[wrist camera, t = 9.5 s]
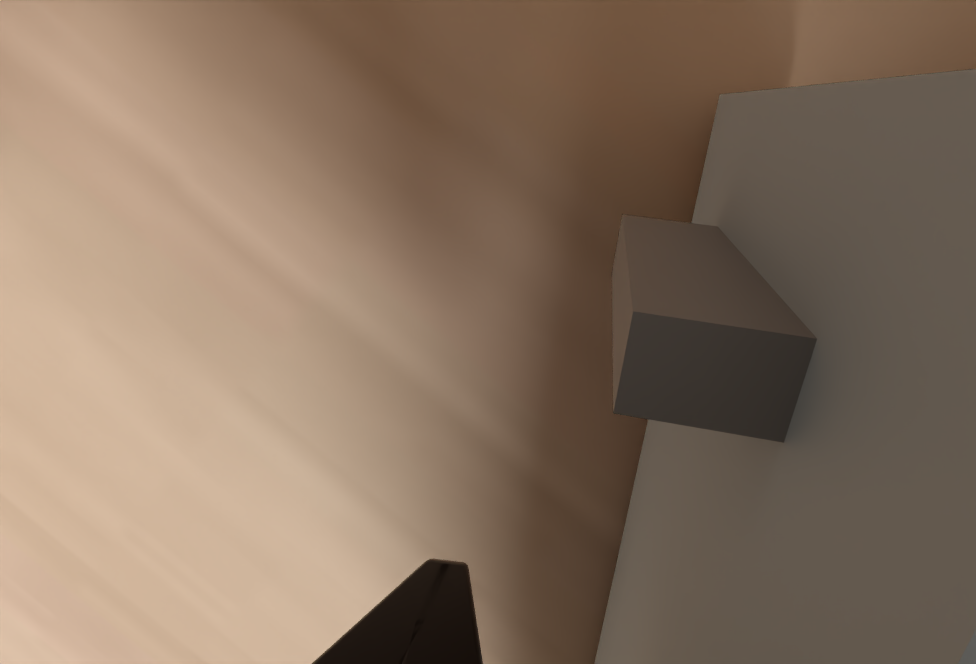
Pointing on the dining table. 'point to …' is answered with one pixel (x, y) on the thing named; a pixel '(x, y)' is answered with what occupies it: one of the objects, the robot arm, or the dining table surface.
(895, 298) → the cabinet door
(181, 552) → the dining table surface
